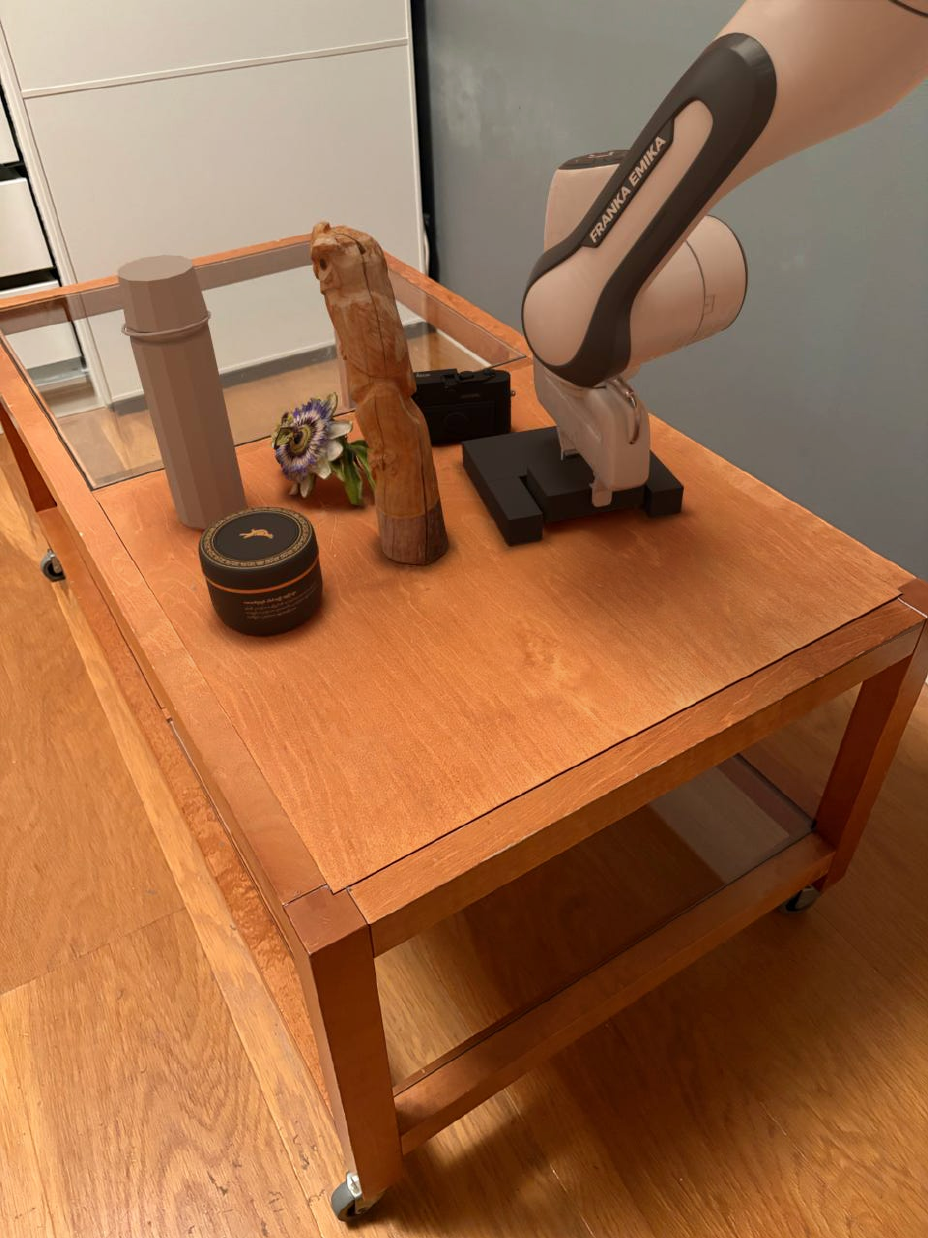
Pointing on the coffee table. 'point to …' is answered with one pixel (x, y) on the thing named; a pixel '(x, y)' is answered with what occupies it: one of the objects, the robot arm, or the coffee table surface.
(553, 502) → the black pad
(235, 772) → the coffee table surface
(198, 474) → the water bottle
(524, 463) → the base pad
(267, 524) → the jar
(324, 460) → the passion flower
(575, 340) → the robot arm
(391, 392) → the sculpture
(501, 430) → the camera
